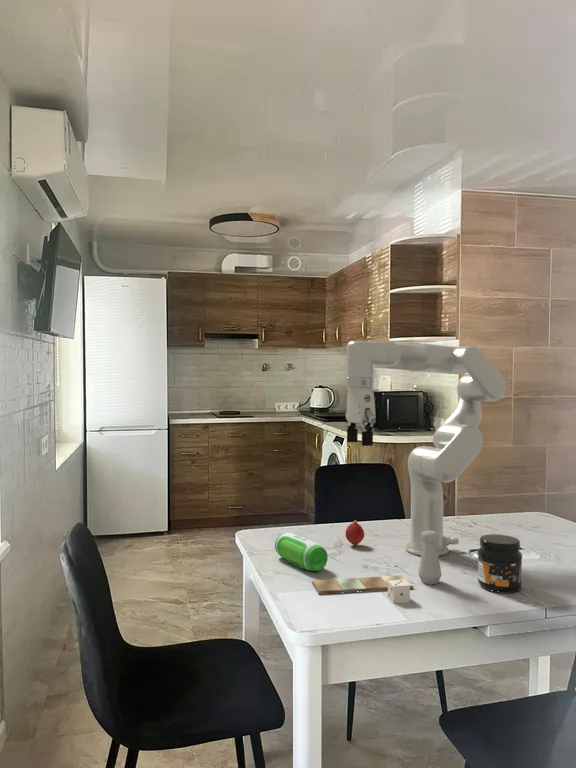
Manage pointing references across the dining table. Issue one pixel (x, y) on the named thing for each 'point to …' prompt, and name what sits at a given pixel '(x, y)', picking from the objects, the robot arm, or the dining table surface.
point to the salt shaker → (429, 559)
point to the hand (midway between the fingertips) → (359, 443)
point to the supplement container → (500, 563)
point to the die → (398, 591)
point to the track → (355, 584)
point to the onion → (354, 533)
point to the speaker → (301, 552)
